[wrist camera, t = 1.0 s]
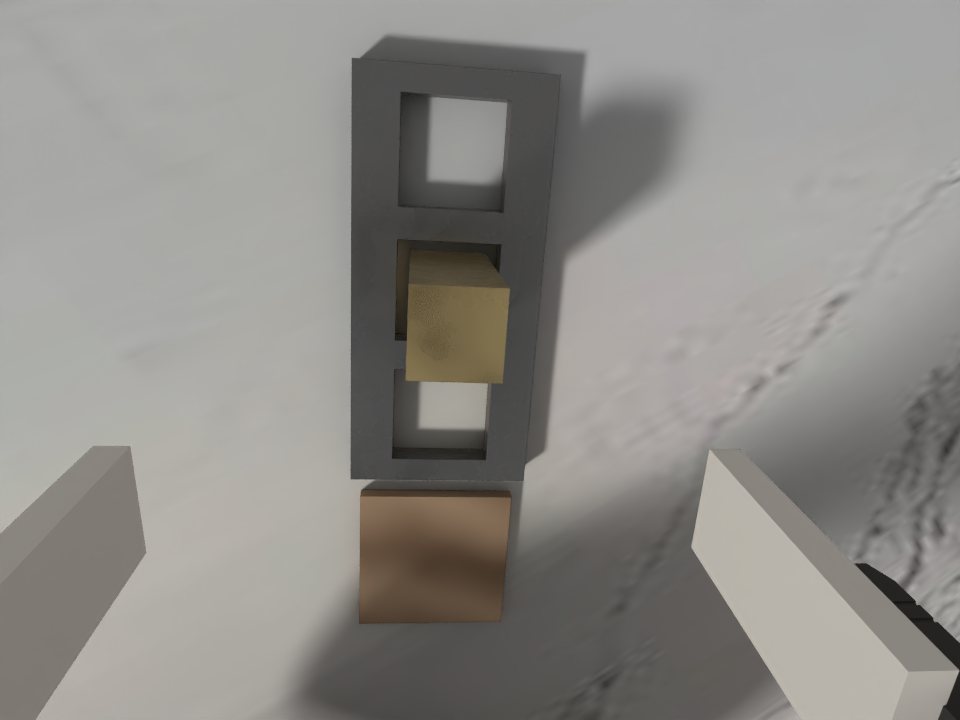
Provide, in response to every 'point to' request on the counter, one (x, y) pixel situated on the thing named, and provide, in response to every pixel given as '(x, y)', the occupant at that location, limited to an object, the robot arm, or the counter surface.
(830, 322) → the counter surface
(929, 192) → the counter surface
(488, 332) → the square wooden peg
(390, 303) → the grey flat slotted block
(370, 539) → the walnut pad
